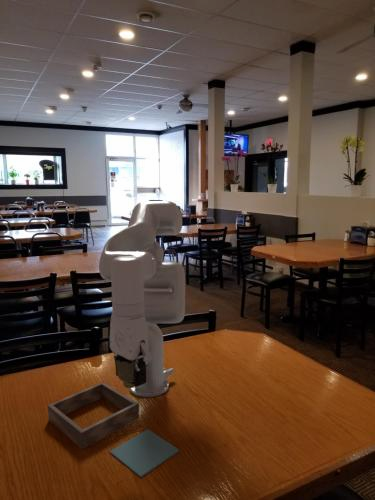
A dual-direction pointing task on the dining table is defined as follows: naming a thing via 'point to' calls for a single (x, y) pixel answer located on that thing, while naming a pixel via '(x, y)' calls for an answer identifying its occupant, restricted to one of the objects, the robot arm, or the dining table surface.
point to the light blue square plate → (144, 452)
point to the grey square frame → (99, 428)
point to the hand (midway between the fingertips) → (130, 378)
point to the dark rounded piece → (125, 370)
